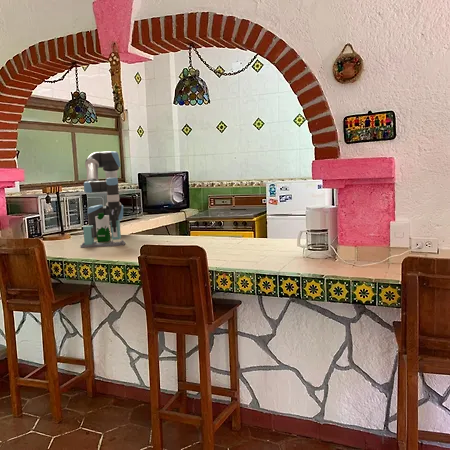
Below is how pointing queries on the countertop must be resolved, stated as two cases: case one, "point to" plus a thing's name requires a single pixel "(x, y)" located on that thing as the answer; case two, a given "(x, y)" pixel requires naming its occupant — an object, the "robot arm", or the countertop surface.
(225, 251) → the countertop surface
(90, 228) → the teal rectangular block
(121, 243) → the rail
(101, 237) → the milk carton
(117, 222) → the finger free
